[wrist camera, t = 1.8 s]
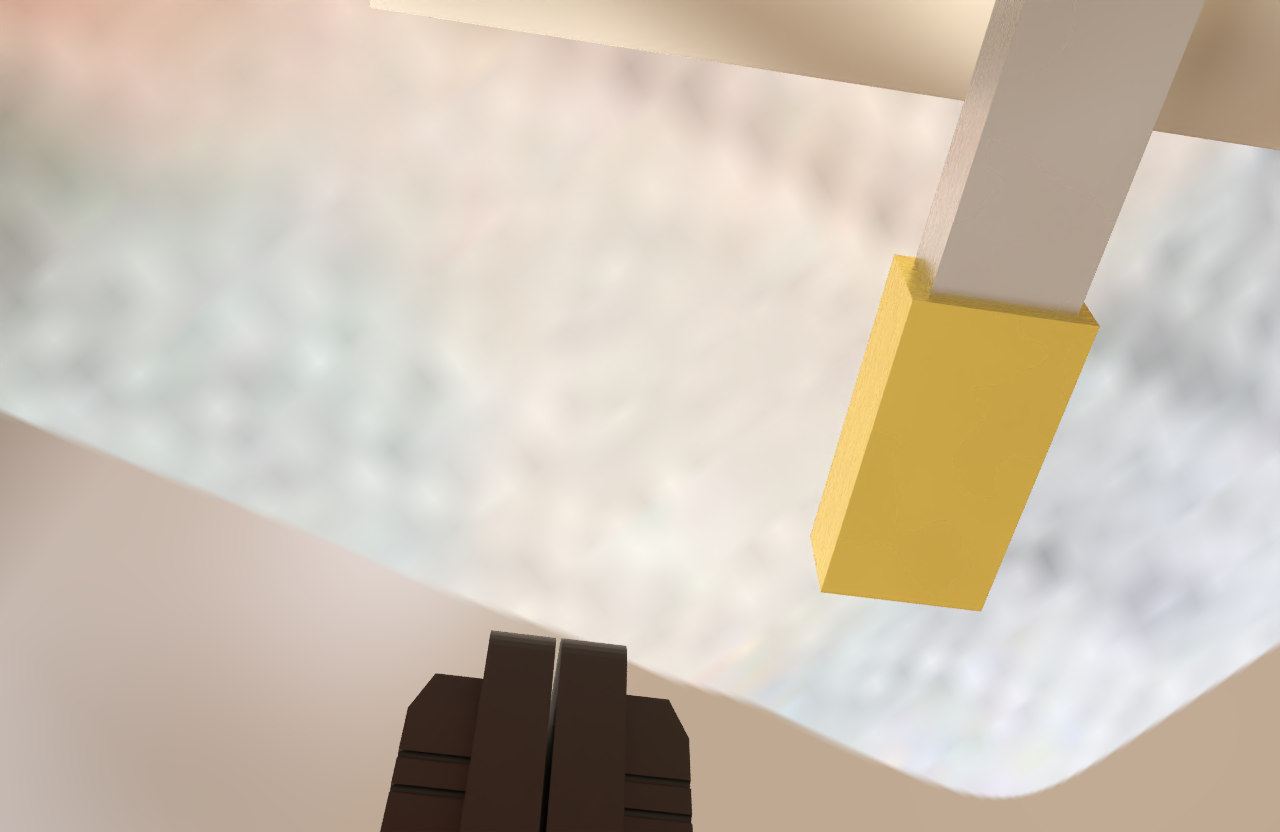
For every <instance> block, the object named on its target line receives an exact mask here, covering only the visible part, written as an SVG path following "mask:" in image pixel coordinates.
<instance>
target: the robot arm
mask: <svg viewBox="0 0 1280 832" xmlns="http://www.w3.org/2000/svg"><path fill="white" fill-rule="evenodd" d="M555 647H556V638H550V637H543V636H534V635H525V634H516V633H508V632H499V631H491V634H490V639H489V646H488V652H487V658H486V665H485V671H484V678H483V679H480V678H471V677H462V676H453V675H445V674H435V675H434V676H433V677H432V679H431V680H430V681H429V682H428V684H427V685H426V686H425V687H424V689H423V690H422V691H421V692H420V694H419V695H418V696H417V697H416V699H415V700H414V701H413V702H412V703H411V705H410V706H409V707H408V710H407V715H406V719H405V724H404V728H403V733H402V737H401V742H400V746H399V752H398V757H397V759H396V764H395V768H394V773H393V777H392V782H391V788H390V792H389V796H388V800H387V804H386V809H385V813H384V818H383V822H382V826H381V831H380V832H693V828H692V824H691V817H692V804H691V789H690V781H691V779H690V752H689V738H688V736H687V734H686V732H685V730H684V728H683V726H682V724H681V722H680V720H679V719H678V717H677V715H676V713H675V711H674V709H673V707H672V705H671V703H670V701H669V700H667V699H658V698H650V697H641V696H632V695H626V686H627V648H626V646H622V645H613V644H605V643H596V642H588V641H579V640H571V639H561V642H560V648H559V654H558V659H557V666H556V672H555V678H554V684H553V691H552V680H553V670H554V659H555ZM551 692H552V697H551Z"/></svg>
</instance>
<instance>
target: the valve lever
mask: <svg viewBox="0 0 1280 832" xmlns="http://www.w3.org/2000/svg"><path fill="white" fill-rule="evenodd" d="M1204 2H1205V0H996V1H995V4H994V7H993V11H992V14H991V17H990V20H989V24H988V27H987V30H986V33H985V36H984V40H983V43H982V46H981V49H980V53H979V56H978V59H977V62H976V65H975V69H974V72H973V75H972V78H971V82H970V85H969V88H968V91H967V95H966V98H965V101H964V104H963V107H962V111H961V114H960V117H959V120H958V124H957V127H956V130H955V133H954V136H953V140H952V143H951V146H950V149H949V153H948V156H947V159H946V162H945V165H944V169H943V172H942V175H941V178H940V182H939V185H938V188H937V191H936V195H935V198H934V201H933V204H932V207H931V211H930V214H929V217H928V220H927V224H926V227H925V230H924V233H923V236H922V240H921V243H920V246H919V249H918V253H917V256H916V258H915V257H908V256H901V255H894V258H893V261H892V265H891V268H890V271H889V275H888V278H887V281H886V285H885V288H884V291H883V295H882V298H881V301H880V305H879V308H878V311H877V315H876V318H875V321H874V325H873V328H872V331H871V335H870V338H869V342H868V345H867V348H866V352H865V355H864V358H863V362H862V365H861V368H860V372H859V375H858V378H857V382H856V385H855V388H854V392H853V395H852V398H851V402H850V405H849V408H848V412H847V415H846V418H845V422H844V425H843V429H842V432H841V435H840V439H839V442H838V445H837V449H836V452H835V455H834V459H833V462H832V465H831V469H830V472H829V475H828V479H827V482H826V485H825V489H824V492H823V495H822V499H821V502H820V506H819V509H818V512H817V516H816V519H815V522H814V526H813V529H812V532H811V536H810V537H811V542H812V548H813V553H814V559H815V564H816V569H817V575H818V580H819V585H820V591H821V592H824V593H832V594H840V595H849V596H857V597H865V598H874V599H882V600H890V601H899V602H907V603H915V604H924V605H932V606H940V607H948V608H957V609H965V610H973V611H981V610H982V608H983V606H984V603H985V601H986V598H987V596H988V594H989V591H990V589H991V586H992V584H993V582H994V579H995V577H996V574H997V572H998V570H999V567H1000V565H1001V562H1002V560H1003V558H1004V555H1005V553H1006V550H1007V548H1008V546H1009V543H1010V541H1011V538H1012V536H1013V534H1014V531H1015V529H1016V526H1017V524H1018V522H1019V519H1020V517H1021V514H1022V512H1023V510H1024V507H1025V505H1026V502H1027V500H1028V497H1029V495H1030V493H1031V490H1032V488H1033V485H1034V483H1035V481H1036V478H1037V476H1038V473H1039V471H1040V469H1041V466H1042V464H1043V461H1044V459H1045V457H1046V454H1047V452H1048V449H1049V447H1050V445H1051V442H1052V440H1053V437H1054V435H1055V433H1056V430H1057V428H1058V425H1059V423H1060V421H1061V418H1062V416H1063V413H1064V411H1065V409H1066V406H1067V404H1068V401H1069V399H1070V397H1071V394H1072V392H1073V389H1074V387H1075V385H1076V382H1077V380H1078V377H1079V375H1080V373H1081V370H1082V368H1083V365H1084V363H1085V361H1086V358H1087V356H1088V353H1089V351H1090V349H1091V346H1092V344H1093V341H1094V339H1095V337H1096V334H1097V332H1098V329H1099V327H1100V326H1099V325H1098V323H1097V322H1096V320H1095V319H1094V317H1093V316H1092V314H1091V312H1090V311H1089V309H1088V308H1087V306H1086V305H1085V303H1084V300H1085V297H1086V295H1087V292H1088V290H1089V287H1090V285H1091V283H1092V280H1093V278H1094V275H1095V273H1096V270H1097V268H1098V265H1099V263H1100V260H1101V258H1102V255H1103V253H1104V250H1105V248H1106V245H1107V243H1108V240H1109V238H1110V235H1111V233H1112V230H1113V228H1114V225H1115V223H1116V220H1117V218H1118V216H1119V213H1120V211H1121V208H1122V206H1123V203H1124V201H1125V198H1126V196H1127V193H1128V191H1129V188H1130V186H1131V183H1132V181H1133V178H1134V176H1135V173H1136V171H1137V168H1138V166H1139V163H1140V161H1141V158H1142V156H1143V153H1144V151H1145V149H1146V146H1147V144H1148V141H1149V139H1150V136H1151V134H1152V131H1153V129H1154V126H1155V124H1156V121H1157V119H1158V116H1159V114H1160V111H1161V109H1162V106H1163V104H1164V101H1165V99H1166V96H1167V94H1168V91H1169V89H1170V86H1171V84H1172V81H1173V79H1174V77H1175V74H1176V72H1177V69H1178V67H1179V64H1180V62H1181V59H1182V57H1183V54H1184V52H1185V49H1186V47H1187V44H1188V42H1189V39H1190V37H1191V34H1192V32H1193V29H1194V27H1195V24H1196V22H1197V19H1198V17H1199V14H1200V12H1201V10H1202V7H1203V5H1204Z"/></svg>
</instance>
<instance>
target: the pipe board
mask: <svg viewBox="0 0 1280 832" xmlns="http://www.w3.org/2000/svg"><path fill="white" fill-rule="evenodd" d="M995 1H996V0H370V8H375V9H382V10H388V11H394V12H401V13H407V14H414V15H420V16H426V17H433V18H439V19H445V20H452V21H458V22H465V23H471V24H477V25H484V26H490V27H496V28H503V29H509V30H516V31H522V32H528V33H535V34H541V35H547V36H554V37H560V38H567V39H573V40H579V41H586V42H592V43H598V44H605V45H611V46H618V47H624V48H630V49H637V50H643V51H649V52H656V53H662V54H669V55H675V56H681V57H688V58H694V59H700V60H707V61H713V62H720V63H726V64H732V65H739V66H745V67H751V68H758V69H764V70H771V71H777V72H783V73H790V74H796V75H802V76H809V77H815V78H822V79H828V80H834V81H841V82H847V83H853V84H860V85H866V86H873V87H879V88H885V89H892V90H898V91H904V92H911V93H917V94H924V95H930V96H936V97H943V98H949V99H955V100H962V101H965V98H966V95H967V91H968V88H969V85H970V82H971V78H972V75H973V72H974V69H975V65H976V62H977V59H978V56H979V53H980V49H981V46H982V43H983V40H984V36H985V33H986V30H987V27H988V24H989V20H990V17H991V14H992V11H993V7H994V4H995ZM1153 131H1159V132H1166V133H1172V134H1179V135H1185V136H1191V137H1198V138H1204V139H1210V140H1217V141H1223V142H1230V143H1236V144H1242V145H1249V146H1255V147H1261V148H1268V149H1274V150H1280V0H1205V2H1204V5H1203V7H1202V10H1201V12H1200V14H1199V17H1198V19H1197V22H1196V24H1195V27H1194V29H1193V32H1192V34H1191V37H1190V39H1189V42H1188V44H1187V47H1186V49H1185V52H1184V54H1183V57H1182V59H1181V62H1180V64H1179V67H1178V69H1177V72H1176V74H1175V77H1174V79H1173V81H1172V84H1171V86H1170V89H1169V91H1168V94H1167V96H1166V99H1165V101H1164V104H1163V106H1162V109H1161V111H1160V114H1159V116H1158V119H1157V121H1156V124H1155V126H1154V129H1153Z"/></svg>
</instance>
